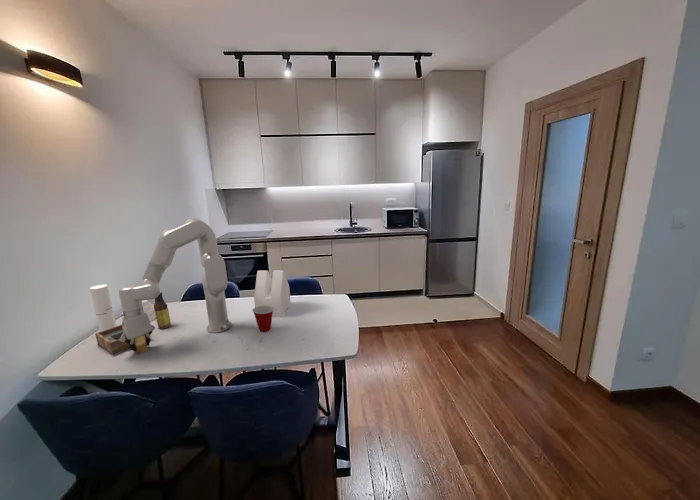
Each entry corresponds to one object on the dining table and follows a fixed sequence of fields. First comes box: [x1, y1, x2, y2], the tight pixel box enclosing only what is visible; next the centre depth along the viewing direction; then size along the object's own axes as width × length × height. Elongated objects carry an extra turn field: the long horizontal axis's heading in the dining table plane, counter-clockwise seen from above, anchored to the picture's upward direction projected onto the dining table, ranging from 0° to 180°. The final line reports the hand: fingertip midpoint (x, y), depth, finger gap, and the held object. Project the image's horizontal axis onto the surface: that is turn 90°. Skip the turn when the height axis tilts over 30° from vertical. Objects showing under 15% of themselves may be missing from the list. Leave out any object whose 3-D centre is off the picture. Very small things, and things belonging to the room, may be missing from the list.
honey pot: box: [142, 300, 156, 322], centre depth 172 cm, size 13×13×18 cm
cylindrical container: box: [89, 284, 117, 332], centre depth 160 cm, size 7×7×25 cm
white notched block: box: [253, 269, 292, 318], centre depth 179 cm, size 19×15×25 cm
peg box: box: [95, 324, 151, 356], centre depth 148 cm, size 18×16×6 cm
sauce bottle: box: [153, 291, 172, 330], centre depth 162 cm, size 6×6×20 cm
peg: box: [133, 334, 148, 354], centre depth 140 cm, size 5×5×8 cm
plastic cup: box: [252, 306, 274, 333], centre depth 156 cm, size 11×11×12 cm
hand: (140, 347), depth 141 cm, fingers closed on peg, 5 cm apart
